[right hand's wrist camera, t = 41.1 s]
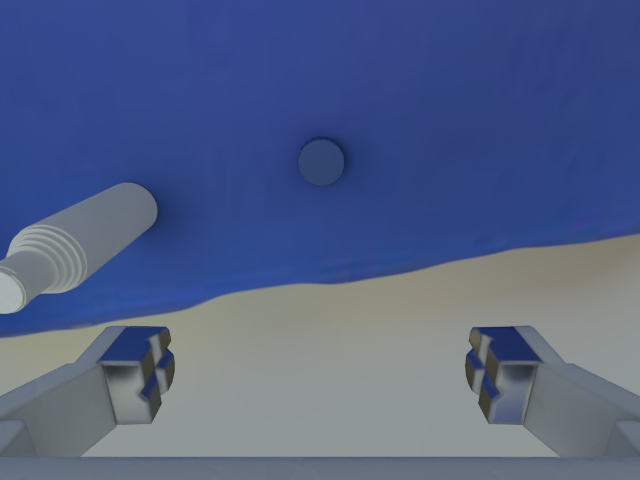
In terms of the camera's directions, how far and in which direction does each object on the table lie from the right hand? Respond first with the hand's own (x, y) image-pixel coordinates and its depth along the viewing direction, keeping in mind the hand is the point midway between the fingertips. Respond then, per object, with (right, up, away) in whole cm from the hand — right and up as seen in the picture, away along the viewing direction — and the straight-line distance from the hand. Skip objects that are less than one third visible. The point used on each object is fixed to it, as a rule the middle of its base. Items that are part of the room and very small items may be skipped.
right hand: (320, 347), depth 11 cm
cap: (0, +10, +24) cm, 26 cm away
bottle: (-18, +6, +27) cm, 33 cm away
